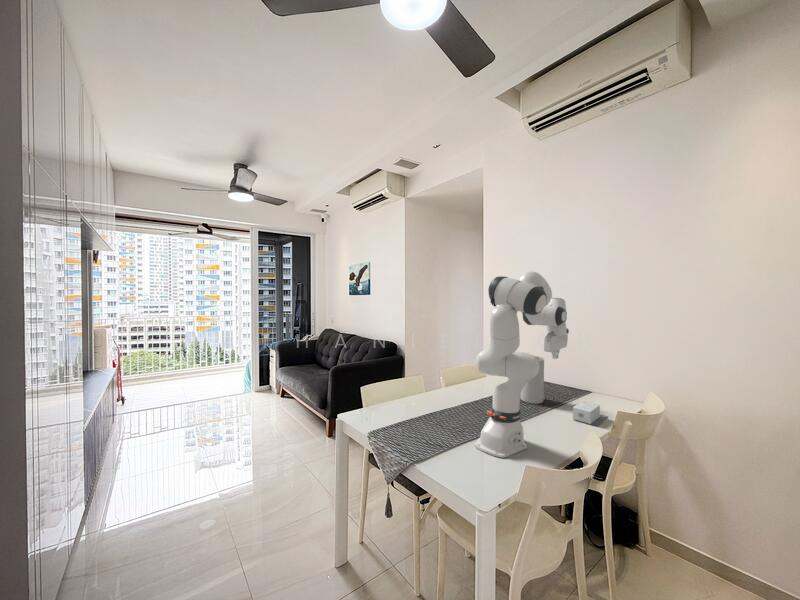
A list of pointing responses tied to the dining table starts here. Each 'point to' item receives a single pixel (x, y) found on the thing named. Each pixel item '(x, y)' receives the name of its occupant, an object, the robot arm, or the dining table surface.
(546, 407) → the dining table surface
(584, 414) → the small box
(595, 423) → the mat
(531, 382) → the cylinder vase
